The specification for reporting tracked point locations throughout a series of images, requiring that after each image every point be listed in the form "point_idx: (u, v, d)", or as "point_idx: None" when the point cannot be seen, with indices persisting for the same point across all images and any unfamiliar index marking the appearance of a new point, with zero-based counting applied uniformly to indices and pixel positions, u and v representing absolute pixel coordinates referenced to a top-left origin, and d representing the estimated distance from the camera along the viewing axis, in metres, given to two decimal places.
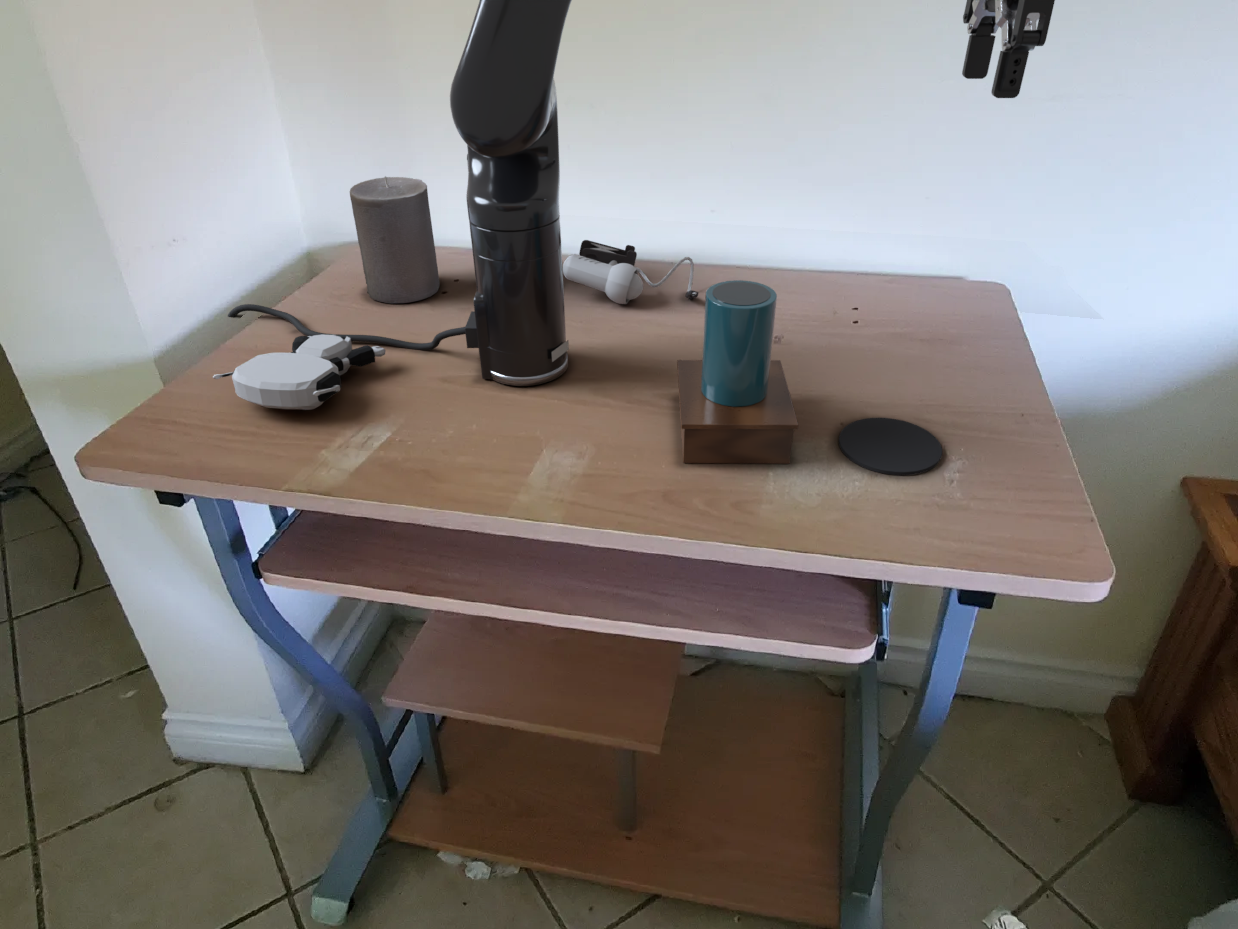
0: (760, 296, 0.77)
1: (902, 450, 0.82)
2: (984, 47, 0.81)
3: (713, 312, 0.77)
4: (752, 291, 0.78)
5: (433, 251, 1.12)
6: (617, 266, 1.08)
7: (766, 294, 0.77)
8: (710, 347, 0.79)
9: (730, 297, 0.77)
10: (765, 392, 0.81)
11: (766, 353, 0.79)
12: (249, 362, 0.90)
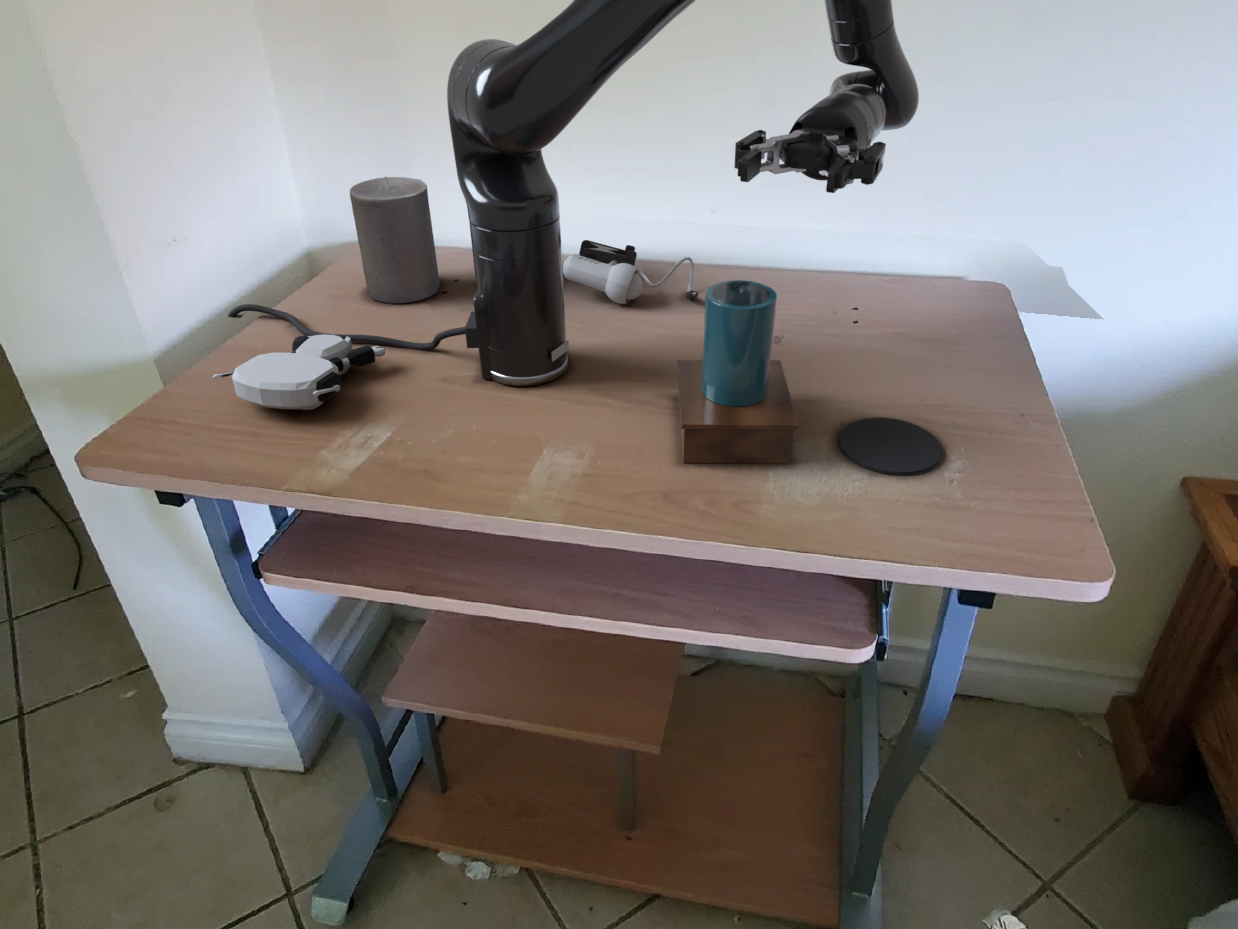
0: (760, 296, 0.77)
1: (902, 450, 0.82)
2: (756, 167, 0.85)
3: (713, 312, 0.77)
4: (752, 291, 0.78)
5: (433, 251, 1.12)
6: (617, 266, 1.08)
7: (766, 294, 0.77)
8: (710, 347, 0.79)
9: (730, 297, 0.77)
10: (765, 392, 0.81)
11: (766, 353, 0.79)
12: (249, 362, 0.90)
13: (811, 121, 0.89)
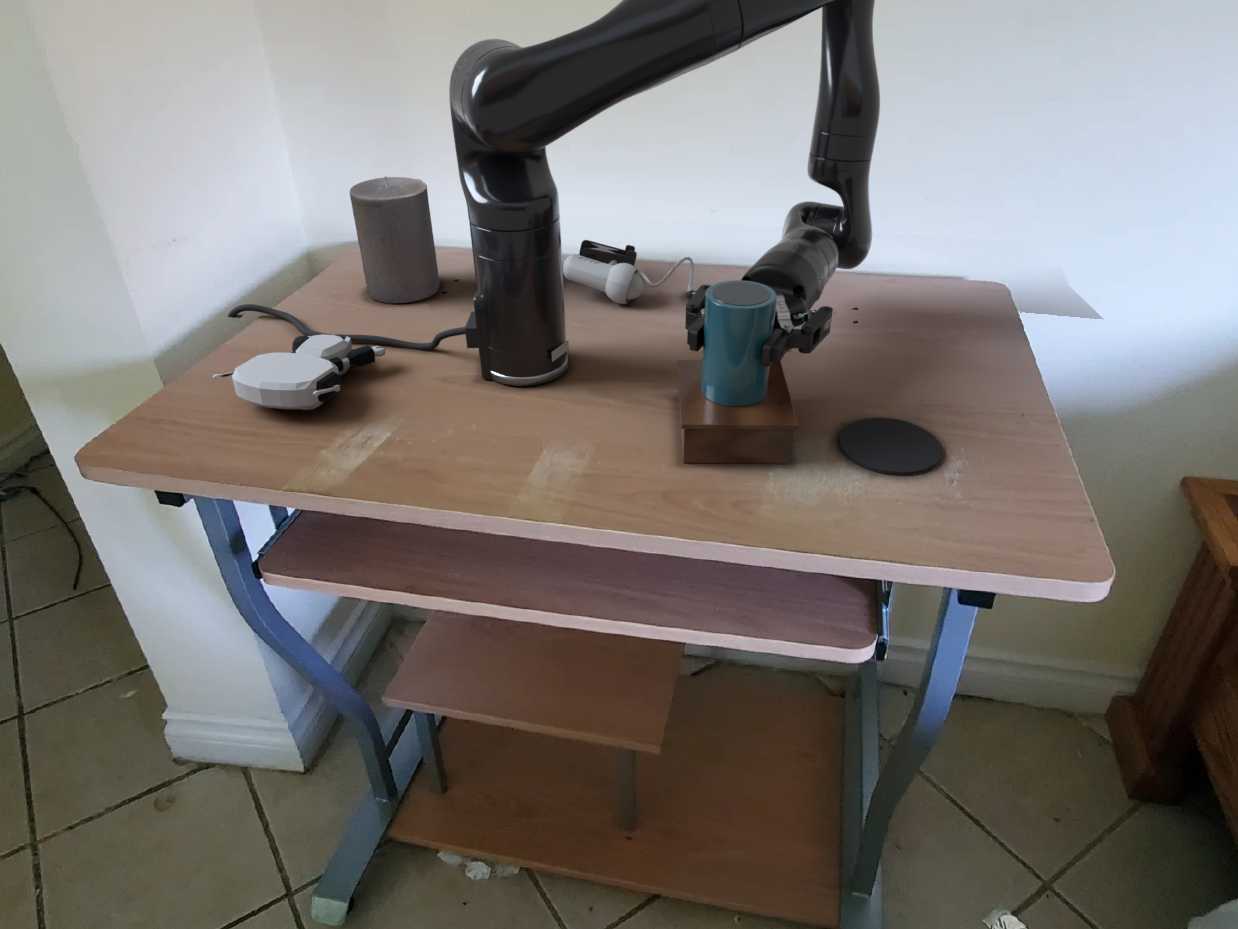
0: (760, 296, 0.77)
1: (902, 450, 0.82)
2: None
3: (713, 312, 0.77)
4: (752, 291, 0.78)
5: (433, 251, 1.12)
6: (617, 266, 1.08)
7: (766, 294, 0.77)
8: (710, 347, 0.79)
9: (729, 297, 0.77)
10: (765, 392, 0.81)
11: None
12: (249, 362, 0.90)
13: (759, 277, 0.86)
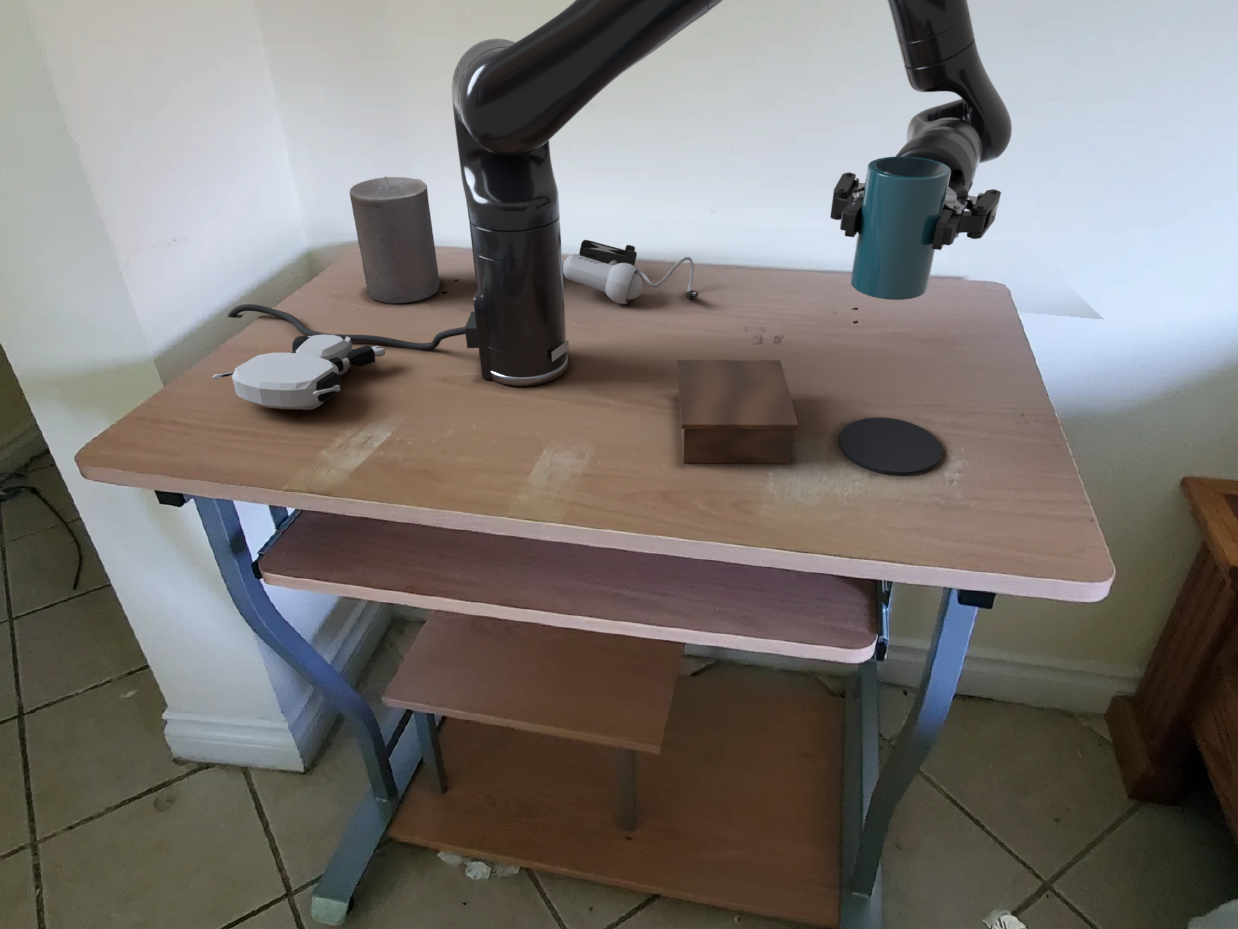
0: (932, 169, 0.68)
1: (902, 450, 0.82)
2: None
3: (880, 186, 0.68)
4: (921, 165, 0.69)
5: (433, 251, 1.12)
6: (617, 266, 1.08)
7: (938, 167, 0.68)
8: (871, 230, 0.70)
9: (898, 170, 0.68)
10: (927, 284, 0.72)
11: None
12: (249, 362, 0.90)
13: None
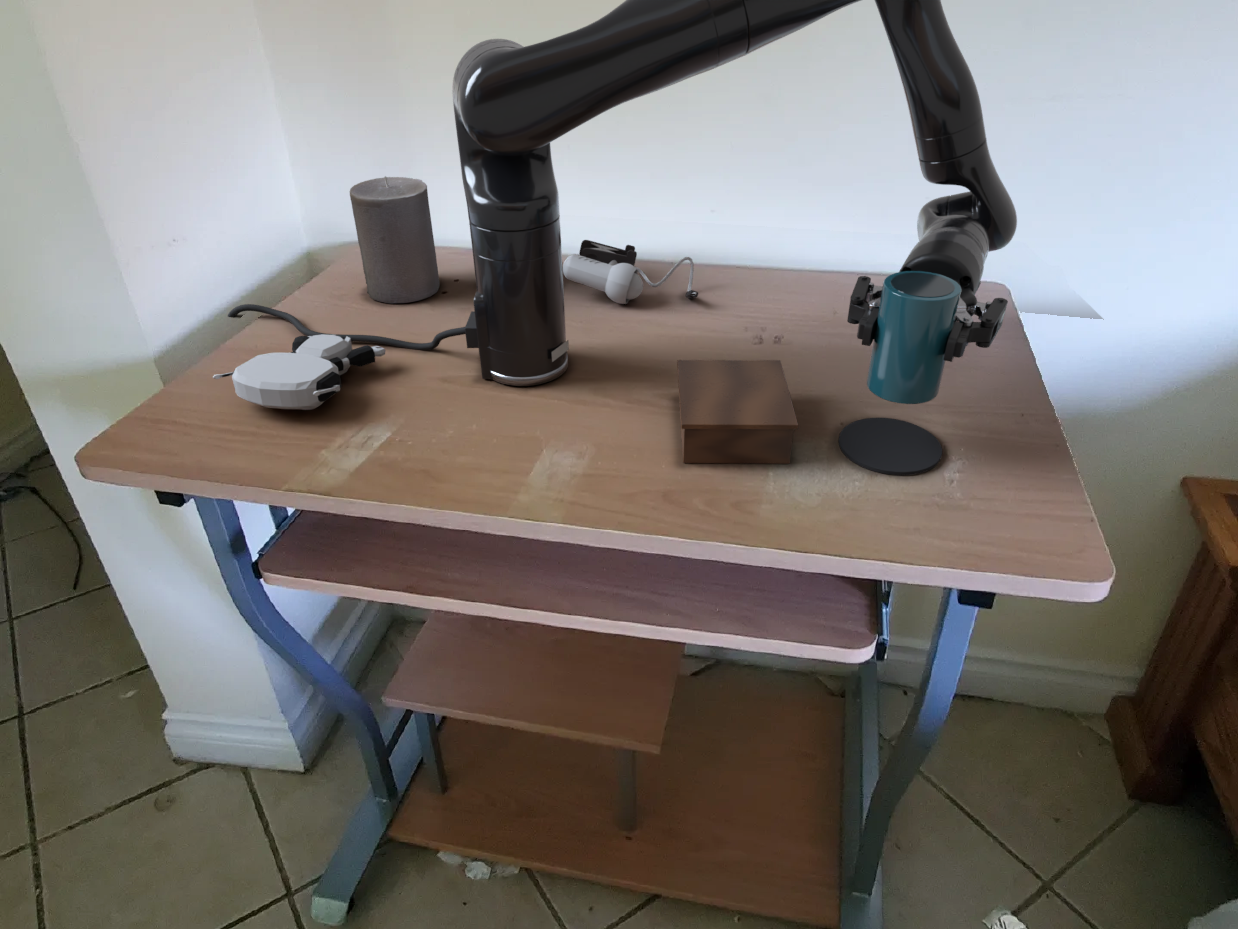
0: (944, 287, 0.73)
1: (902, 450, 0.82)
2: None
3: (895, 304, 0.72)
4: (933, 282, 0.74)
5: (433, 251, 1.12)
6: (617, 266, 1.08)
7: (949, 285, 0.73)
8: (887, 341, 0.75)
9: (912, 289, 0.73)
10: (938, 388, 0.77)
11: None
12: (249, 362, 0.90)
13: (922, 268, 0.82)
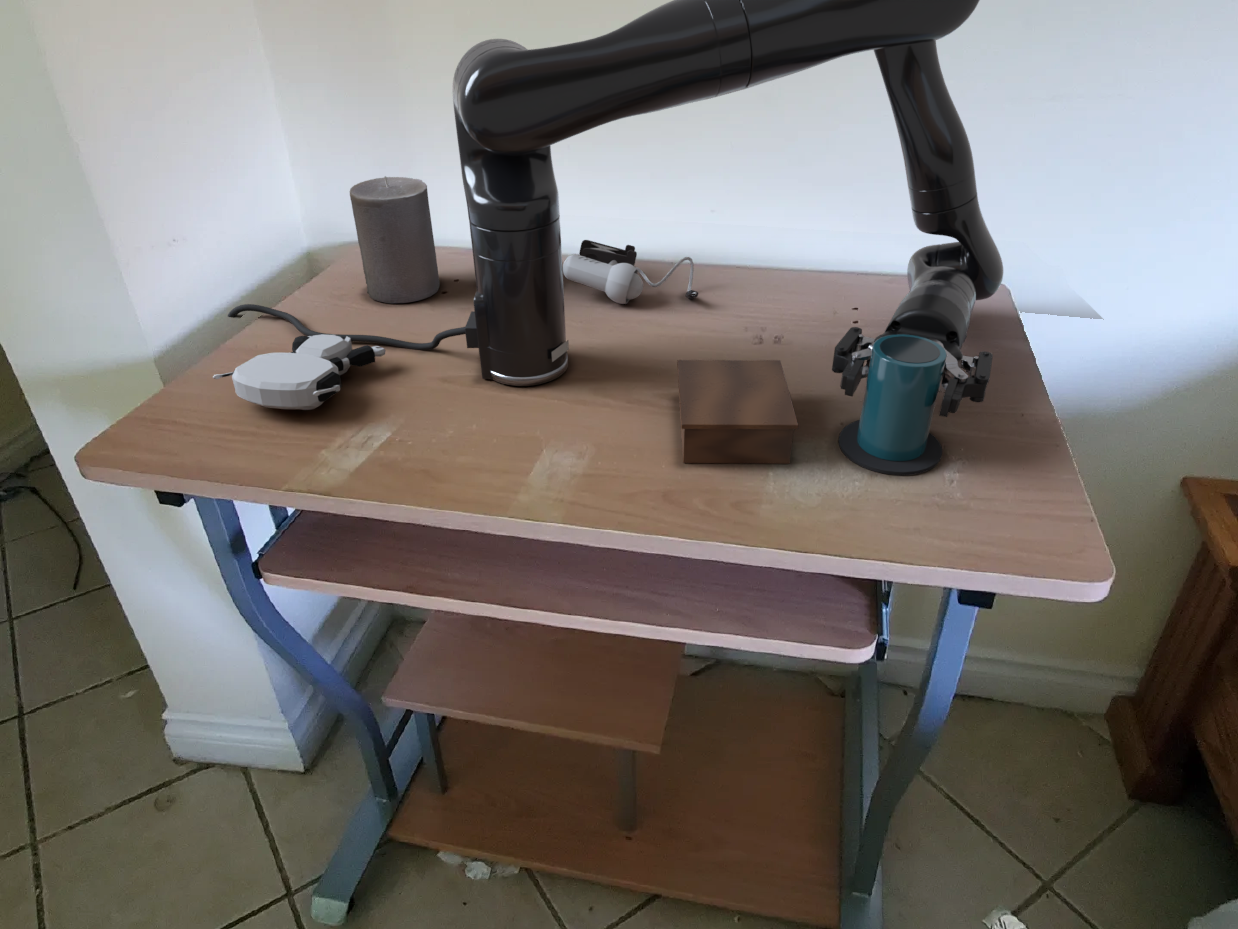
0: (930, 352, 0.76)
1: None
2: (859, 377, 0.81)
3: (884, 368, 0.76)
4: (920, 347, 0.77)
5: (433, 251, 1.12)
6: (617, 266, 1.08)
7: (935, 350, 0.77)
8: (876, 403, 0.78)
9: (899, 354, 0.76)
10: (925, 445, 0.81)
11: (932, 409, 0.78)
12: (249, 362, 0.90)
13: (910, 322, 0.85)
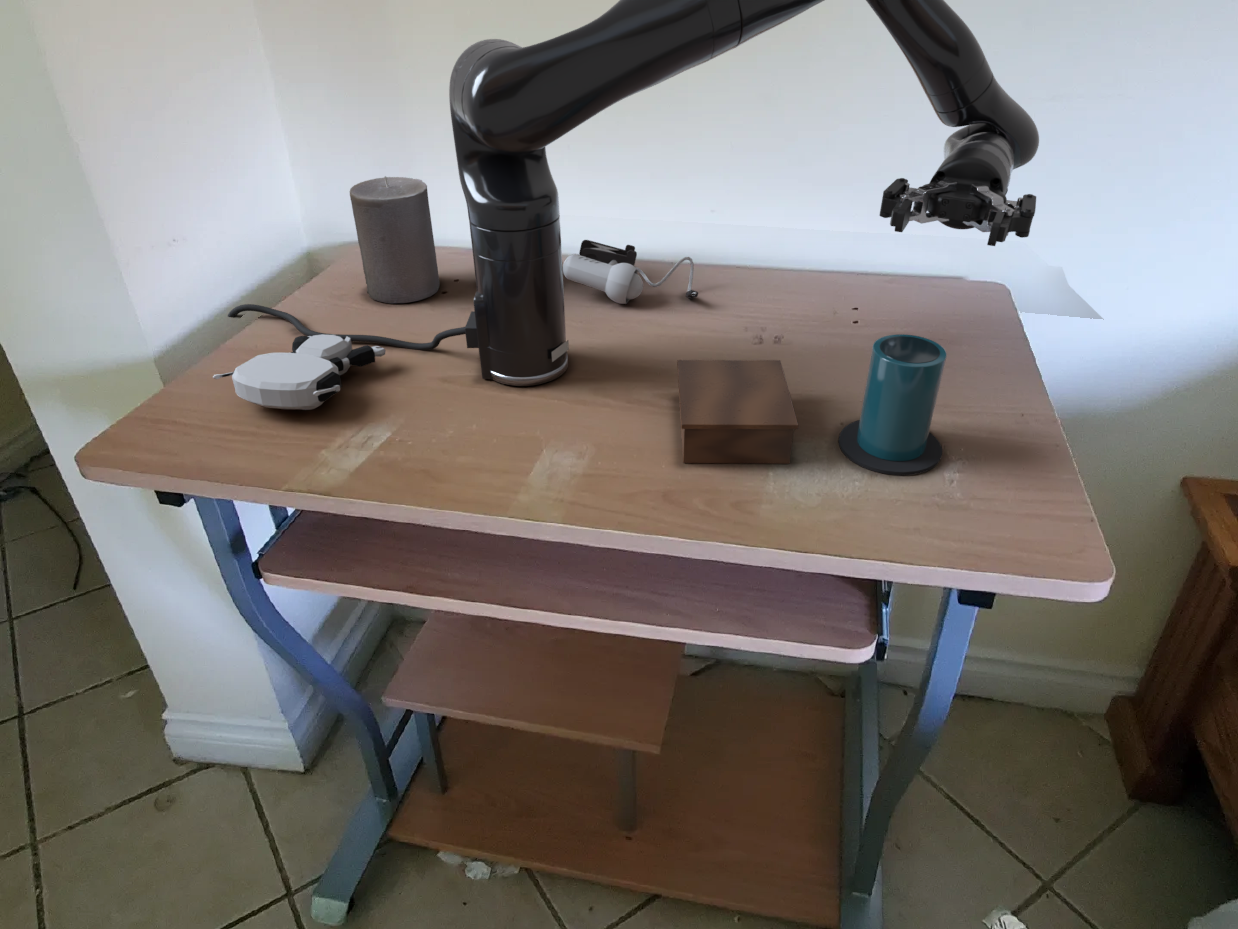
0: (930, 352, 0.76)
1: None
2: (908, 217, 0.84)
3: (884, 368, 0.76)
4: (920, 347, 0.77)
5: (433, 251, 1.12)
6: (617, 266, 1.08)
7: (935, 350, 0.77)
8: (876, 403, 0.78)
9: (899, 354, 0.76)
10: (925, 445, 0.81)
11: (932, 409, 0.78)
12: (249, 362, 0.90)
13: (955, 171, 0.88)
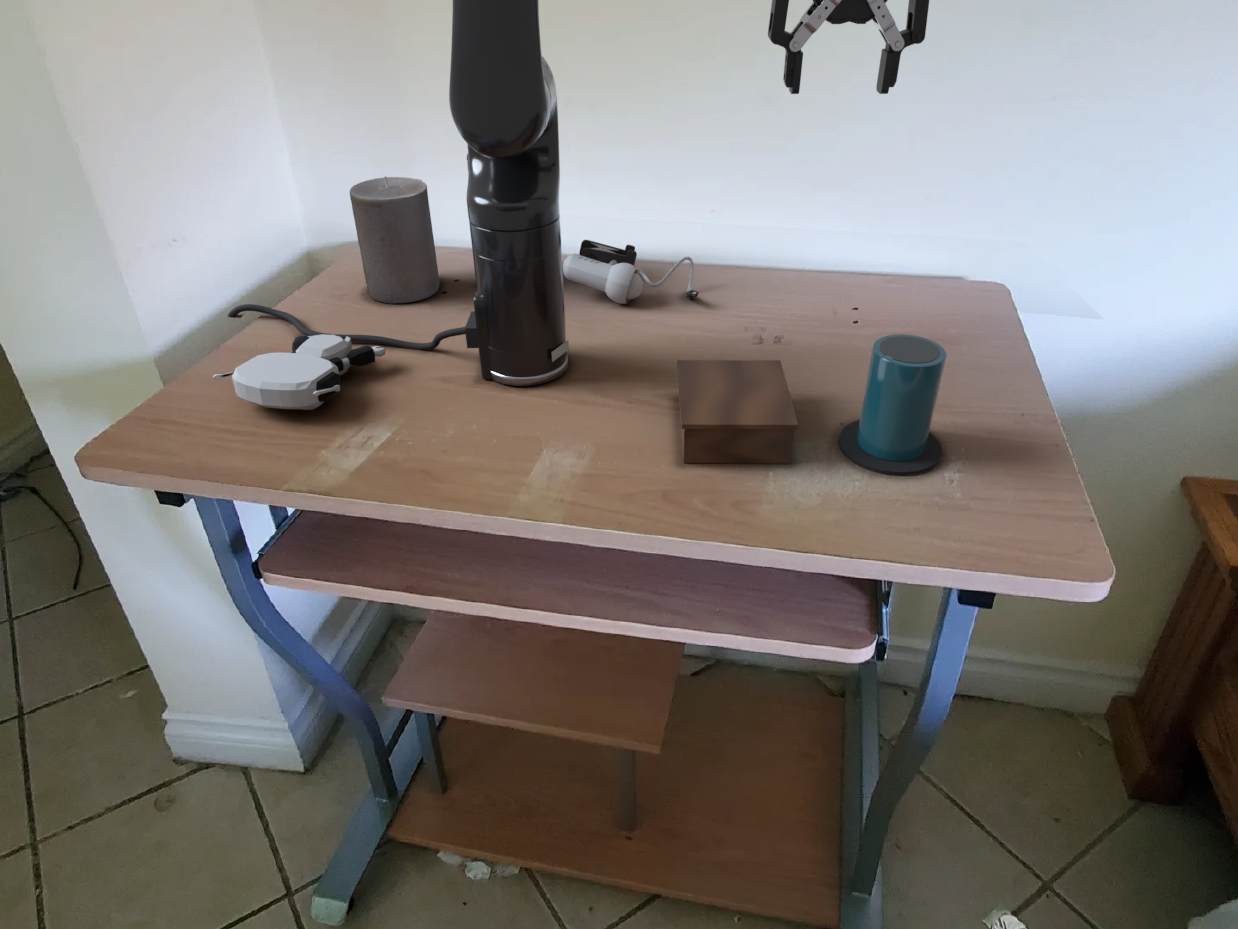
0: (930, 352, 0.76)
1: None
2: None
3: (884, 368, 0.76)
4: (920, 347, 0.77)
5: (433, 251, 1.12)
6: (617, 266, 1.08)
7: (935, 350, 0.77)
8: (876, 403, 0.78)
9: (899, 354, 0.76)
10: (925, 445, 0.81)
11: (932, 409, 0.78)
12: (249, 362, 0.90)
13: None
